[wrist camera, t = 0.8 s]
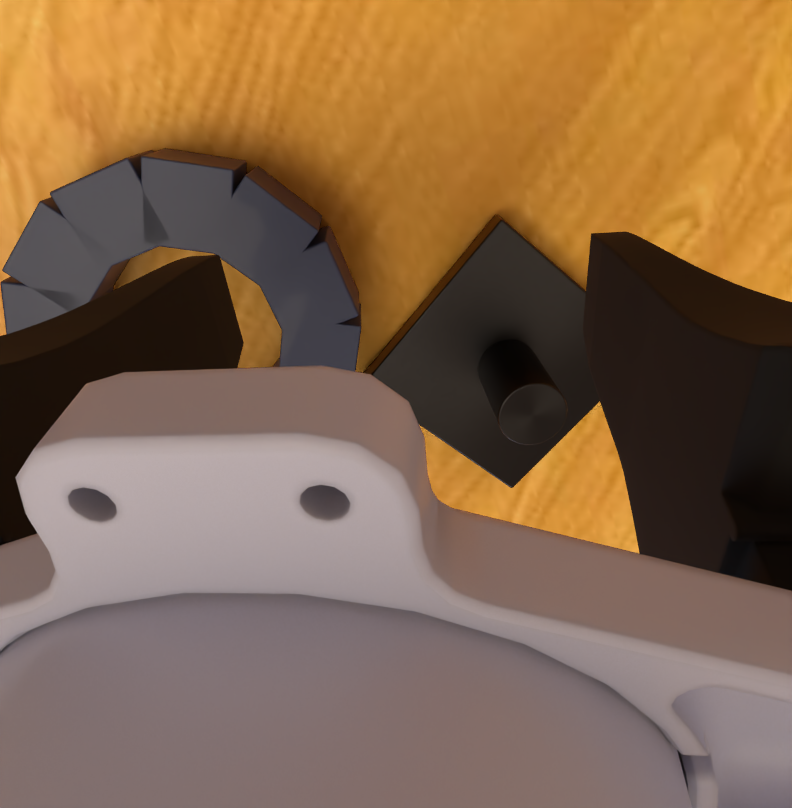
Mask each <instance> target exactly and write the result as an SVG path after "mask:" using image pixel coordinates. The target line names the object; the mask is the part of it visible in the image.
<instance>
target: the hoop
mask: <svg viewBox="0 0 792 808" xmlns="http://www.w3.org/2000/svg"><path fill="white" fill-rule="evenodd" d="M246 164H247V162H246V161H245V160H238V159H232V158H225V157H219V156H212V155H205V154H199V153H192V152H185V151H179V150H172V149H166V148H165V149H162V150H159V151H156V152H153V151H152V150H150V151H147V152H144V153H141V154H137V155H134V156H131V157H128V158H125V159H123V160H120V161H118V162H116V163H114V164H112V165H109V166H107V167H105V168H103V169H100V170H98V171H96V172H94V173H91V174H89V175H87V176H85V177H83V178H80V179H78V180H76V181H74V182H71V183H69V184H67V185H65V186H62V187H60V188H58V189H56V190H53V191H51V192H50V195H51V197H50V198H48V199H45V200H42V201H40V202H39V204H38V206H37V207H36V209H35V211H34V213H33V215H32V217H31V218H30V220H29V222H28V224H27V226H26V227H25V229H24V231H23V233H22V235H21V237H20V238H19V240H18V242H17V244H16V246H15V247H14V249H13V251H12V253H11V255H10V257H9V258H8V260H7V262H6V264H5V266H4V268H3V270H2V271H3V272H5V273H7V274H8V275H10V276H11V277H9V278H7V279H5V280H3V281H2V282H1V291H2V299H3V308H4V316H5V324H6V333H7V334H10V333H13V332H16V331H19V330H22V329H25V328H27V327H30V326H33V325H36V324H38V323H41V322H44V321H47V320H49V319H52V318H54V317H57V316H59V315H62V314H64V313H66V312H69V311H71V310H73V309H75V308H77V307H80V306H82V305H84V304H86V303H88V302H90V301H93V300H95V299H97V298H99V297H101V296H103V295H105V294H108V293H110V292H112V291H113V285H114V284H115V282H116V280H117V279H118V277H119V276H120V274H121V272H122V271H123V269H124V268H125V266H126V264H127V263H128V261H129V260H130V258H133V257H135V256H137V255H140V254H142V253H144V252H147V251H149V250H151V249H154V248H156V247H158V246H162V247H169V248H177V249H184V250H192V251H199V252H207V253H214V254H215V255H219V256H220V258H221V259H223V260H224V261H225V262H227V263H228V264H230V265H231V266H232V267H234V268H235V269H237V270H238V271H240V272H241V273H242V274H244V275H245V276H247V277H248V278H249V279H251V280H252V281H254V282H255V283H257V284H258V285H259V286H260V287H261V289H262V291H263V293H264V295H265V297H266V299H267V301H268V303H269V305H270V307H271V309H272V311H273V313H274V315H275V317H276V319H277V321H278V323H279V325H280V327H281V329H282V338H281V351H280V358H279V359H278V361H277V362H276V363H275V364H274V366H273V367H292V366H321V365H322V366H328V367H333V368H338V369H344V370H349V371H355V370H356V362H357V355H358V347H359V340H360V332H361V304H360V303H359V292H358V290H357V287H356V285H355V283H354V280H353V278H352V276H351V273H350V271H349V269H348V266H347V264H346V262H345V259H344V257H343V255H342V253H341V250H340V248H339V246H338V243H337V241H336V239H335V236H334V234H333V232H332V229H331V227H330V226H326V227H323V228H321V229H319V227H320V223H321V219H322V215H321V214H319V213H318V212H317V211H316V210H314V209H313V208H312V207H310V206H309V205H308V204H307V203H305V202H304V201H303V200H301V199H300V198H299V197H297V196H296V195H295V194H294V193H292V192H291V191H290V190H288V189H287V188H286V187H285V186H283V185H282V184H281V183H279V182H278V181H277V180H276V179H274V178H273V177H272V176H270V175H269V174H268V173H266V172H265V171H264V170H263V169H261V168H260V167H259V166H257V167H255V168H254V169H253V170H252V171H250V172H249V173H248V174H247V175H246Z"/></svg>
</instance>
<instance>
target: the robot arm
mask: <svg viewBox="0 0 792 808" xmlns="http://www.w3.org/2000/svg"><path fill="white" fill-rule="evenodd" d="M583 335H584V342H585V348H586V354H587V359H588V365H589V370H590V373H591V376H592V379H593V382H594V385H595V388H596V391H597V394H598V397H599V399H600V402H601V405H602V408H603V411H604V414H605V417H606V419H607V422H608V425H609V428H610V431H611V434H612V437H613V439H614V442H615V445H616V448H617V451H618V454H619V457H620V461H621V464H622V468H623V471H624V476H625V481H626V486H627V490H628V495H629V500H630V505H631V510H632V514H633V520H634V525H635V530H636V536H637V541H638V546H639V552H640V554H638V553H634V552H630V551H626V550H622V549H618V548H614V547H610V546H605V545H601V544H597V543H593V542H589V541H585V540H581V539H577V538H573V537H569V536H564V535H560V534H556V533H552V532H548V531H544V530H540V529H536V528H532V527H527V526H523V525H519V524H515V523H511V522H507V521H503V520H499V519H495V518H491V517H486V516H482V515H478V514H474V513H470V512H466V511H462V510H458V509H454V508H450V507H449V506H447V505H445V504H444V503H442V502H441V501H439V500H438V499H437V497H436V496H435V494H434V493H433V491H432V489H431V485H430V481H429V478H428V473H427V462H426V450H425V439H424V435H423V433H422V431H421V428H420V426H419V424H418V422H417V419H416V417H415V415H414V413H413V410H412V408H411V406H410V403H409V401H407V400H406V399H404V398H403V397H402V396H400V395H399V394H397V393H396V392H395V391H393V390H392V389H390V388H389V387H388V386H386V385H385V384H383V383H382V382H381V381H379V380H378V379H376V378H375V377H374V376H372V375H371V374H365V373H360V372H355V371H349V370H344V369H338V368H333V367H328V366H322V365H321V366H292V367H263V368H237V367H238V363H239V359H240V355H241V351H242V347H243V339H242V336H241V332H240V329H239V325H238V321H237V318H236V314H235V310H234V307H233V303H232V300H231V296H230V292H229V289H228V285H227V282H226V278H225V274H224V271H223V267H222V264H221V260H220V256H219V255H209V256H191V257H186V258H183V259H180V260H177V261H174V262H172V263H169V264H167V265H165V266H163V267H160V268H158V269H156V270H154V271H152V272H150V273H148V274H146V275H144V276H142V277H140V278H138V279H136V280H134V281H132V282H130V283H128V284H126V285H124V286H122V287H120V288H118V289H116V290H114V291H112V292H110V293H108V294H105V295H103V296H101V297H99V298H97V299H95V300H93V301H90V302H88V303H86V304H84V305H82V306H80V307H77V308H75V309H73V310H71V311H69V312H66V313H64V314H62V315H59V316H57V317H54V318H52V319H49V320H47V321H44V322H41V323H38V324H36V325H33V326H30V327H27V328H25V329H22V330H19V331H16V332H13V333H10V334H6V335H3V336H0V808H792V302H788V301H785V300H781V299H778V298H775V297H772V296H769V295H766V294H763V293H760V292H757V291H754V290H750V289H747V288H745V287H742V286H740V285H737V284H734V283H732V282H729V281H727V280H725V279H723V278H720V277H718V276H716V275H713V274H711V273H709V272H707V271H704V270H702V269H700V268H698V267H696V266H694V265H692V264H690V263H688V262H686V261H684V260H682V259H680V258H678V257H676V256H675V255H673V254H671V253H669V252H667V251H665V250H663V249H661V248H660V247H658V246H656V245H654V244H652V243H650V242H648V241H647V240H645V239H643V238H641V237H639V236H636V235H634V234H632V233H629V232H611V233H594V234H591V243H590V254H589V265H588V276H587V287H586V298H585V309H584V320H583Z"/></svg>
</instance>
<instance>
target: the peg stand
mask: <svg viewBox="0 0 792 808" xmlns="http://www.w3.org/2000/svg"><path fill="white" fill-rule="evenodd" d="M585 298H586V291H585V290H584V289H583V288H582V287H581V286H579V285H578V284H577V283H576V282H575V281H574V280H573V279H571V278H570V277H569V276H568V275H567V274H566V273H564V272H563V271H562V270H561V269H560V268H559V267H558V266H556V265H555V264H554V263H553V262H552V261H551V260H549V259H548V258H547V257H546V256H545V255H544V254H543V253H541V252H540V251H539V250H538V249H537V248H536V247H534V246H533V245H532V244H531V243H530V242H529V241H527V240H526V239H525V238H524V237H523V236H522V235H521V234H519V233H518V232H517V231H516V230H515V229H514V228H512V227H511V226H510V225H509V224H508V223H507V222H506V221H504V220H503V219H502V218H501V217H500V216H499V215H495V216H494V217H493V218H492V220H491V221H490V222H489V223H488V224H487V226H486V227H485V228H484V229H483V230H482V232H481V233H480V234H479V235H478V236H477V238H476V239H475V240H474V241H473V242H472V244H471V245H470V246H469V247H468V249H467V250H466V251H465V252H464V253H463V255H462V256H461V257H460V258H459V259H458V261H457V262H456V263H455V264H454V265H453V267H452V268H451V269H450V270H449V271H448V273H447V274H446V275H445V276H444V277H443V279H442V280H441V281H440V282H439V283H438V285H437V286H436V287H435V288H434V289H433V291H432V292H431V293H430V294H429V296H428V297H427V298H426V299H425V300H424V302H423V303H422V304H421V305H420V306H419V308H418V309H417V310H416V311H415V312H414V314H413V315H412V316H411V317H410V318H409V320H408V321H407V322H406V323H405V324H404V326H403V327H402V328H401V329H400V330H399V332H398V333H397V334H396V335H395V336H394V338H393V339H392V340H391V341H390V342H389V344H388V345H387V346H386V347H385V349H384V350H383V351H382V352H381V353H380V355H379V356H378V357H377V358H376V359H375V361H374V362H373V363H372V364H371V365H370V367H369V368H368V369H367V370H366V371H365V374H371V375H372V376H374V377H375V378H376V379H378V380H379V381H381V382H382V383H383V384H385V385H386V386H388V387H389V388H390V389H392V390H393V391H395V392H396V393H397V394H399V395H400V396H402V397H403V398H404V399H406V400H407V401H409V403H410V406H411V408H412V410H413V413H414V415H415V417H416V419H417V422H418V424H419V425H421V426H422V427H424V428H425V429H426V430H428V431H429V432H431V433H432V434H434V435H435V436H437V437H438V438H439V439H441V440H442V441H444V442H445V443H447V444H448V445H450V446H451V447H453V448H454V449H455V450H457V451H458V452H460V453H461V454H463V455H464V456H466V457H467V458H469V459H470V460H471V461H473V462H474V463H476V464H477V465H479V466H480V467H482V468H483V469H484V470H486V471H487V472H489V473H490V474H492V475H493V476H495V477H496V478H498V479H499V480H500V481H502V482H503V483H505V484H506V485H508V486H509V487H511V488H513V487H514V486H515V485H516V484H517V483H518V482H519V481H520V480H521V479H522V478H523V477H524V476H525V475H526V474H527V473H528V472H529V471H530V470H531V469H532V468H533V467H534V466H535V465H536V464H537V463H538V462H539V461H540V460H541V459H542V458H543V457H544V456H545V455H546V454H547V453H548V452H549V451H550V450H551V449H552V448H553V447H554V446H555V445H556V444H557V443H558V442H559V441H560V440H561V439H562V438H563V437H564V436H565V435H566V434H567V433H568V432H569V431H570V430H571V429H572V428H573V427H574V426H575V425H576V424H577V423H578V422H579V421H580V420H581V419H582V418H583V417H584V416H585V415H586V414H587V413H588V412H589V411H590V410H591V409H592V408H593V407H594V406H595V405H596V404H597V403H598V402H599V401H600V399H599V397H598V394H597V391H596V388H595V385H594V382H593V379H592V376H591V373H590V370H589V365H588V359H587V354H586V348H585V342H584V335H583V320H584V309H585Z"/></svg>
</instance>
